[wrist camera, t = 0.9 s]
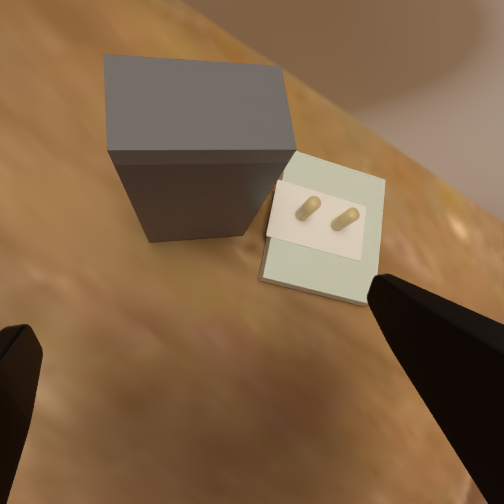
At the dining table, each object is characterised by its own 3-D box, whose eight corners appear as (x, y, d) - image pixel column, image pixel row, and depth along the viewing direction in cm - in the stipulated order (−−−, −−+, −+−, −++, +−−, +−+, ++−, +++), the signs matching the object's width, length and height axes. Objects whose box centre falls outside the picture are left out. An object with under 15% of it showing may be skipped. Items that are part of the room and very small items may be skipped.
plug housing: (242, 235, 23) (296, 149, 12) (149, 242, 22) (107, 150, 10) (236, 188, 24) (281, 66, 13) (145, 192, 22) (103, 54, 11)
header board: (363, 306, 24) (397, 302, 20) (253, 279, 22) (266, 269, 19) (375, 187, 27) (406, 164, 23) (278, 157, 26) (295, 126, 22)
